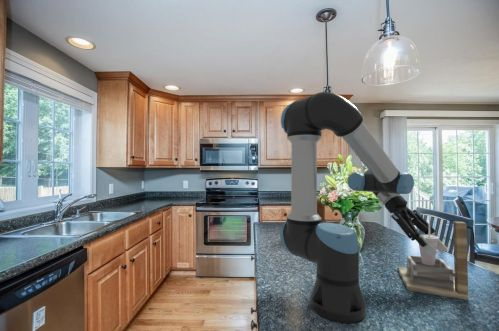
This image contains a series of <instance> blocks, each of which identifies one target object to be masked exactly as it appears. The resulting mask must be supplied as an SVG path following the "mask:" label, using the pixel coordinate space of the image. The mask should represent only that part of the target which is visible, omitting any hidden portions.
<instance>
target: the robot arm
mask: <svg viewBox="0 0 499 331" xmlns="http://www.w3.org/2000/svg"><path fill="white" fill-rule="evenodd" d="M364 120H365V119H364V116H363V114H362V113H361V112H360V110H359V109H358V108H357V106H355V104H353V103H352V102H351V101H349V100H348V99H346V98H345V97H343V96H342V95H340V94H337V93H335V92H330V91H320V92H317V93H315V94H312V95H310V96H307V97H305V98H301V99H297V100H295V101H293V102H291V103H289V104H287V106H286V107H285V108H284V109H283V111H282V112H281V115H280V125H281V126H280V127H281V128H282V129H283V132H284V133H285V134H287V135H286V136H287V137H286V139H287V140H288V141H289V142H290V143H291V166H290V167H291V169H290V170H291V173H290V174H291V175H290V176H291V183H290V184H291V187H290V188H291V195H290V196H291V199H290V200H291V201H290V202H291V204H290V206H291V210H290V212H289V213H288V215H286V221H285V222H284V223H283V224H282V225H283V226H281V227H280V232H279V237H280V242H281V245H282V246H283V248H284V249H285V251H287V252H288V253H290V254H291V255H292V256H293V255H294V256H295V257H299V258H301V259H303V260H306V261H309V262H311V263H313V264H315V266H316V279H315V281H314V285H313V288H312V290H311V294H310V306H311V308H312V309H313V311H314V312H315V313H316V314H317V315H319V316H320V317H321V318H324V319H327V320H329V321H333V322H335V323H336V322H337V323H343V324H352V323H357V322H360V321H363V320H364V319H365V318H366V316H367V303H366V300H365V297H364V295H363V292H362V289H361V287H360V286H361V285H360V269H359V268H360V267H359V266H360V265H359V264H360V260H359V259H360V258H359V255H360V254H359V253H360V252H359V251H360V245H359V236H358V234H357V232H356V230H354V229H352V228H351V227H349V226H346V225H344V224H340V223H333V222H326V223H321V217H320V216H319V215H318V214H317V196H318V183H317V182H318V176H317V175H318V169H317V168H318V142H319V141H320V140H321V139H322V131H323V130H329V131H331V132H332V133H333V134H334V135H335V136H336V137H338V138H342V139H343V140H344V141H345V143H346V144H347V146H349V148H350V149H351V150H352V151H353V153H354V154H355V155H356V156H357V157H358V159H359V160H360V161H361V162H362V164H364V166H365V167H366V168H367V169H368V170H366V171H364V172H361V171H359V172H358V171H357V172H354V171H353V172H352V173H350V174H349V175H348V177H347V186H348V188H350V190H352V191H356V192H366V193H367V192H370V193H372V194H374V196H375V197H376V198H377V199H378V201H379V202H380V203H381V204H382V205H384V208H386V210H387V211H388V212H389V213H390V214H391V215H390V218H392V219H393V221H395V222H396V224H397V225H398V226H399V227H400V228H401V230H402V232H403V233H405V235H406V236H407V238H408V239H410V240H411V241H416V242H417V243H418V245H419V244H420V245H421V247H422V248H423V249H424V250H425V251H426V252H427V254H428V255H429V256H430V257H431V256H433V255H435V254H436V255H437V254H438V252H439V253H440V254H444V253H446V252H447V251H448V250H449V248H448V247H447V246H446V245H445V244H444V242H442V240H440V239H439V241H438V243H437V250H435V249H434V248H433V247H432V245H431V244H430V243H429V242H428V241H427V240H426V239H425V238H424V236H423V235H422V236H420V234H421V233H420V232H419V231H421V232H422V234H428V224H429V223H428V221H427V220H425V218H424V217H422V216H421V215H420V214H419V212H418V211H417V209H413V210H411V209H410V208H409V207H408V206H407V205H408V201H407V200H406V199H405V198H404V197H403V196H402V195H407V194H410V193H412V192H413V190H414V186H415V179H414V176H413V175H412V173H409V172H400V170H399V169H398V168H397V167H396V165H395V164H394V162H393V161H392V160H391V158H390V157H389V156H388V155H387V153H386V152H385V150H384V149H383V148H382V146H381V145H380V143H379V142H378V141H377V140H376V138H375V137H374V136H373V134H372V133H371V132H370V130H369V128H368V127H367V126H366V124H365V123H364ZM418 230H419V231H418ZM435 233H436V230H435V228H433V227H432V226H431V225H430V235H434V236H436V234H435Z"/></svg>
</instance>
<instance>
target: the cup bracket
mask: <svg viewBox="0 0 499 331" xmlns="http://www.w3.org/2000/svg"><path fill="white" fill-rule="evenodd" d="M452 223H453V261H454V262H453V268H454V269H453V268H452V266H450V265H449V264H448V263H447V262H446V261H445V260H443V259H442V258H437V257H436V258H435V265H426V264H423V263H422V261H421V255H413V254H411V255H410V254H406V267H404V266H398V265H397V272H398V273H399V275H400V278H401V280H402V281H403V283H404V285H405V288H406V290H407V291H410V292H415V293H416V292H417V293H423V294H428V295H435V296H440V297H447V298H453V299H460V300H465V301H469V277H468V274H469V273H468V237H467V236H468V234H467V233H468V232H467V223H466V222H465V221H457V220H456V221H452Z"/></svg>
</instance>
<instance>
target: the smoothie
mask: <svg viewBox="0 0 499 331" xmlns="http://www.w3.org/2000/svg"><path fill="white" fill-rule="evenodd" d="M430 226H431V223H428V234H424V233H419V234H420V236H422V235H423V236H424V238H425V239H426V240H427V241H428V242H429V243H430V244H431V245H432V247H433V248H434V249H435V250H436V251H438V250H437V243H438V241H439V240H440V239H439V237H438V236H434V235H430ZM418 248H419V254H420V256H421V261H422V263H423V264H426V265H435V258H437V253H436V254H435V255H433V256H431V257H430V256H429V255H428V254H427V252H426V251H425V250H424V249H423V248H422V247H421V245H420V244H419V243H418Z"/></svg>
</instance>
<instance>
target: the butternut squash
mask: <svg viewBox="0 0 499 331" xmlns="http://www.w3.org/2000/svg"><path fill="white" fill-rule="evenodd" d="M319 196H320V195H317V214H318V215H319V216H320V217H321V223H327V221H326V216H325V215H326V213H325V212H326V207H325V205H326V204H325V203H324V204H322V203H321V200H320V198H319Z"/></svg>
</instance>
